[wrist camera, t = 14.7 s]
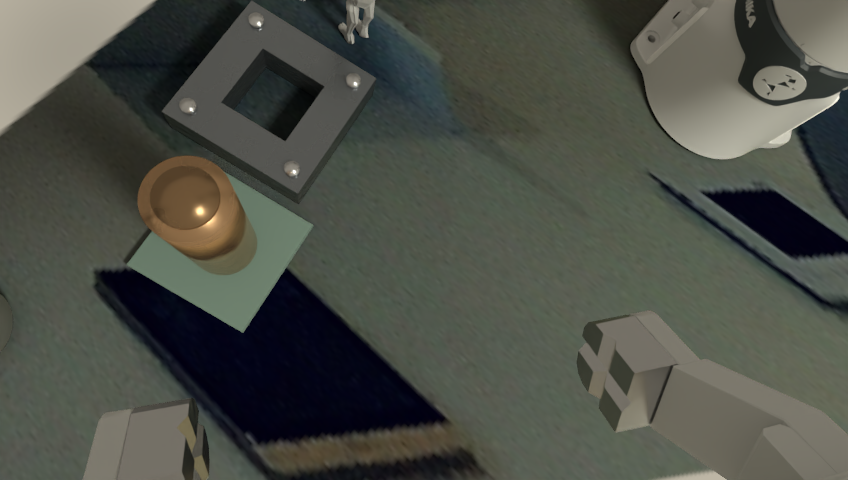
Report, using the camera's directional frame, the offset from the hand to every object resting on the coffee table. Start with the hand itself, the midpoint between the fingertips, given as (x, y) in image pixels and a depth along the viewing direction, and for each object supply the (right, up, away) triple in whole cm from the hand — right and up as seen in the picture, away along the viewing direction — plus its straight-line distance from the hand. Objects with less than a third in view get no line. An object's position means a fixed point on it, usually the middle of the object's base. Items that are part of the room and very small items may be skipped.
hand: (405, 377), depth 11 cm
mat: (-15, +2, +32) cm, 36 cm away
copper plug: (-15, +3, +32) cm, 35 cm away
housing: (-12, +14, +35) cm, 40 cm away
